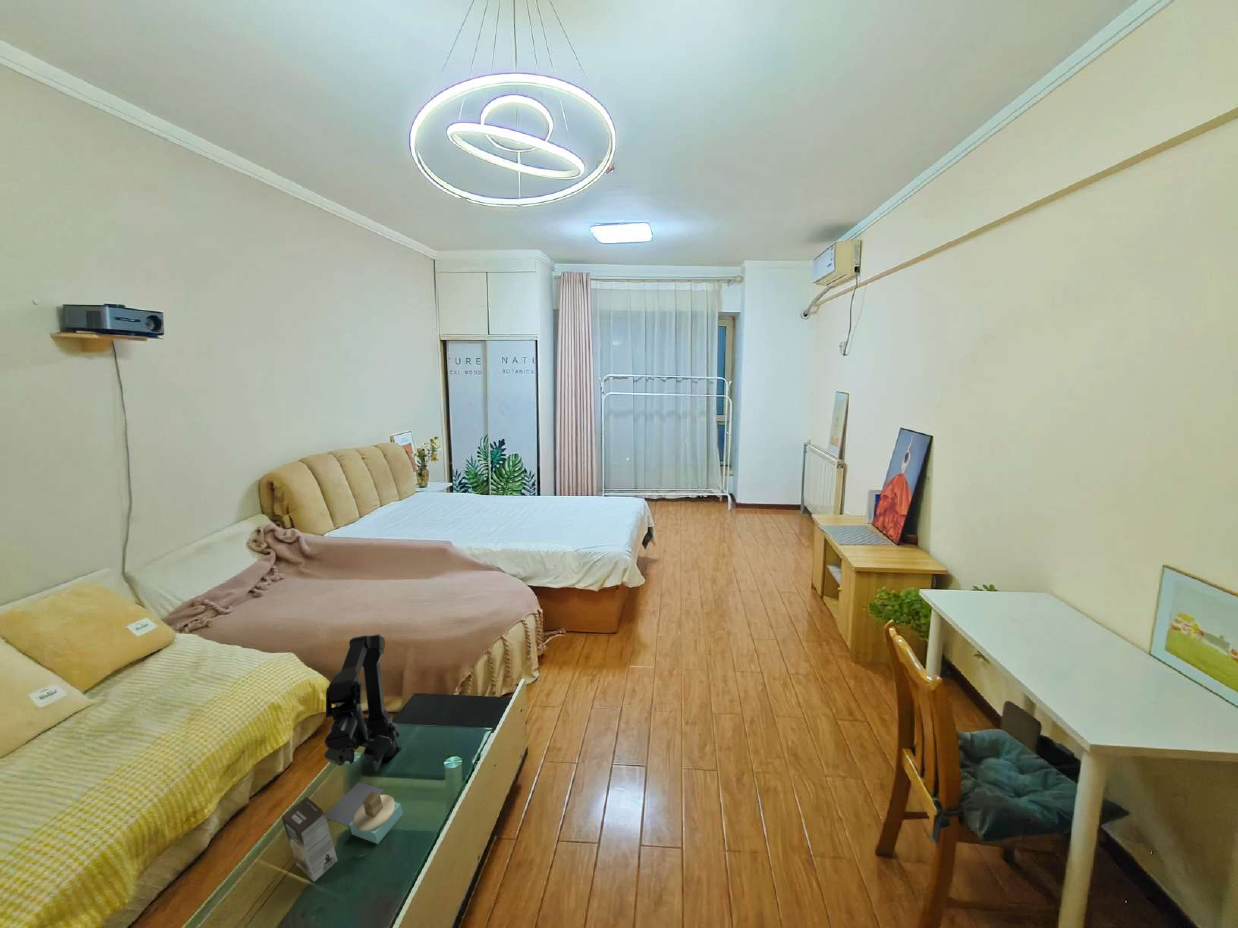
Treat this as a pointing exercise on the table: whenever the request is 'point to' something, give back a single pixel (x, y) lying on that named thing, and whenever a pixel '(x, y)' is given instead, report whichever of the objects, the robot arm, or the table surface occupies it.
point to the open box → (380, 832)
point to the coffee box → (309, 838)
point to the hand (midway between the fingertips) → (364, 766)
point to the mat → (351, 803)
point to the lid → (374, 812)
